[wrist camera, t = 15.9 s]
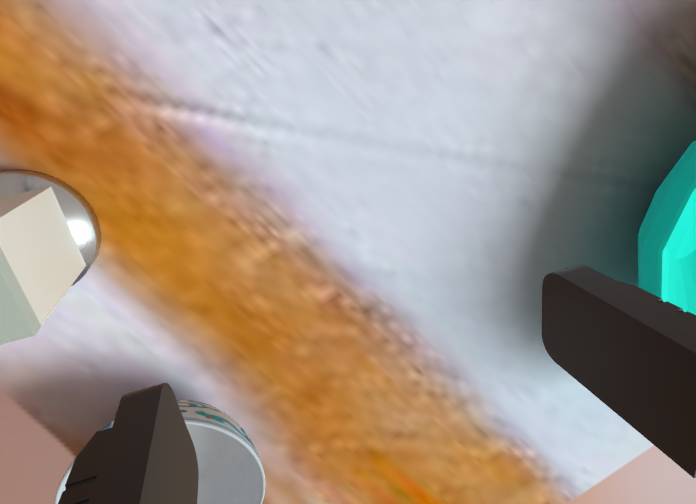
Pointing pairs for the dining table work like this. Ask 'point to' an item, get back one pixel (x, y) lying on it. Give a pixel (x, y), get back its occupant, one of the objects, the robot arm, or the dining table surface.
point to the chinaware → (217, 457)
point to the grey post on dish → (70, 203)
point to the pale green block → (33, 261)
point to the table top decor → (671, 237)
